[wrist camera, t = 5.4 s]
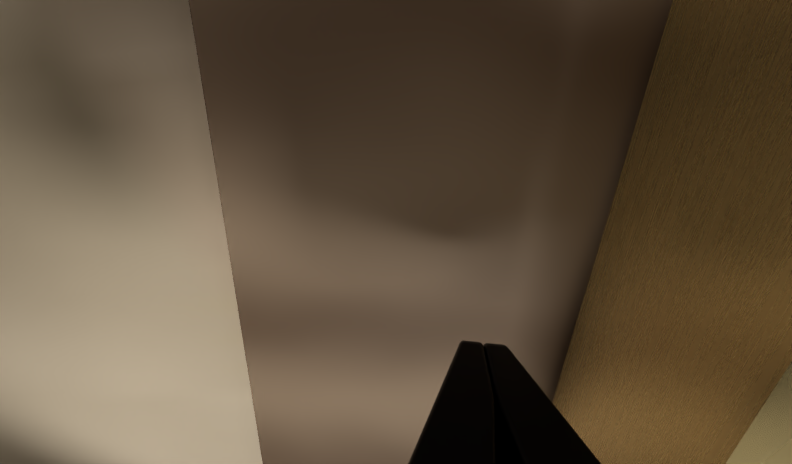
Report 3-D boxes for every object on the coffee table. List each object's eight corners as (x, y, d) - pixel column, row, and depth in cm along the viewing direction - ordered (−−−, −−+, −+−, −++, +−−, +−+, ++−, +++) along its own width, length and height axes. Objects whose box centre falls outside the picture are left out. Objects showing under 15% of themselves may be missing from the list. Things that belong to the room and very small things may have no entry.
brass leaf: (566, 464, 13) (630, 692, 9) (534, 461, 13) (581, 685, 9) (738, -12, 7) (1229, -45, 3) (677, -14, 7) (1058, -49, 3)
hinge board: (711, 570, 17) (722, 594, 16) (280, 514, 18) (274, 534, 17) (1274, -112, 7) (1371, -126, 6) (187, -154, 8) (161, -171, 7)
